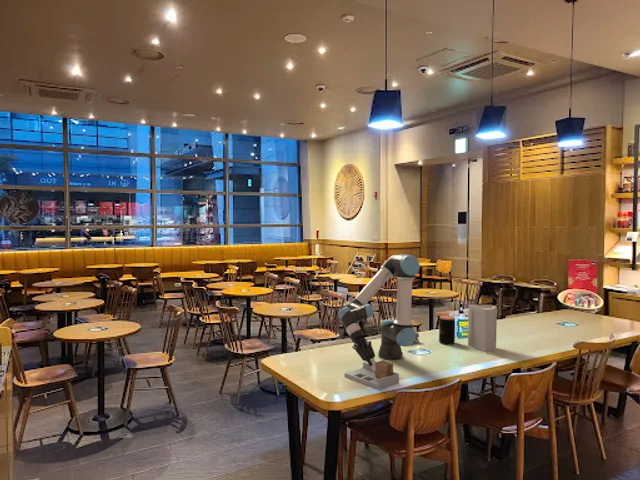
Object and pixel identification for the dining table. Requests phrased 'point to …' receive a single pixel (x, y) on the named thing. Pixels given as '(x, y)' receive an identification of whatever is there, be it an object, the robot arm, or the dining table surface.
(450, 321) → the coffee jar
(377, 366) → the block
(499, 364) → the dining table surface
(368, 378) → the deck
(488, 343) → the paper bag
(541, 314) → the dining table surface
